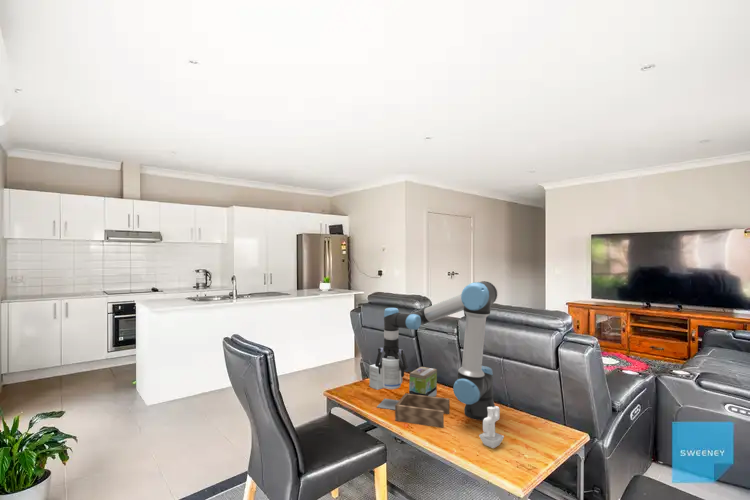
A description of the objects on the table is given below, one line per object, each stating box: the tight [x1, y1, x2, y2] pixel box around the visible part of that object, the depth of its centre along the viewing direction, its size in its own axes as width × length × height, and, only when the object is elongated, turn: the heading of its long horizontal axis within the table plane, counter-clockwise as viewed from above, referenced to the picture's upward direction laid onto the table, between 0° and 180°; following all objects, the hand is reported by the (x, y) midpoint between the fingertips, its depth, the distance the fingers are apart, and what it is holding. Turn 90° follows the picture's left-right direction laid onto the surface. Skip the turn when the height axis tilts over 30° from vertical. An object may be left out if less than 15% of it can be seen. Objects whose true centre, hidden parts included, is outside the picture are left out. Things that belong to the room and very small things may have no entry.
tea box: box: [408, 366, 438, 397], centre depth 206 cm, size 15×10×15 cm, turn 148°
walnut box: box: [394, 393, 451, 429], centre depth 182 cm, size 22×17×7 cm
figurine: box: [478, 405, 505, 449], centre depth 155 cm, size 7×9×15 cm
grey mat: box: [376, 398, 400, 411], centre depth 197 cm, size 12×12×1 cm
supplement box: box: [368, 363, 385, 391], centre depth 224 cm, size 7×7×13 cm
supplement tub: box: [381, 356, 402, 390], centre depth 197 cm, size 10×10×15 cm
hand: (391, 381), depth 197 cm, fingers closed on supplement tub, 10 cm apart
